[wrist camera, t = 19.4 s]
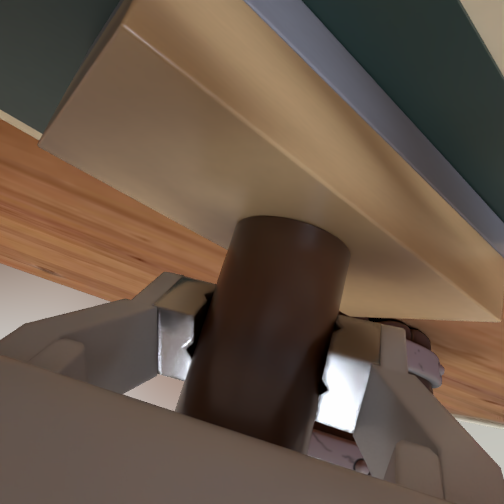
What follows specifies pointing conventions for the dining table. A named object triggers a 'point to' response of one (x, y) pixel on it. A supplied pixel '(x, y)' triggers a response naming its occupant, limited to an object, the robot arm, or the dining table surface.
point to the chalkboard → (346, 32)
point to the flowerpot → (343, 443)
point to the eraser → (276, 193)
